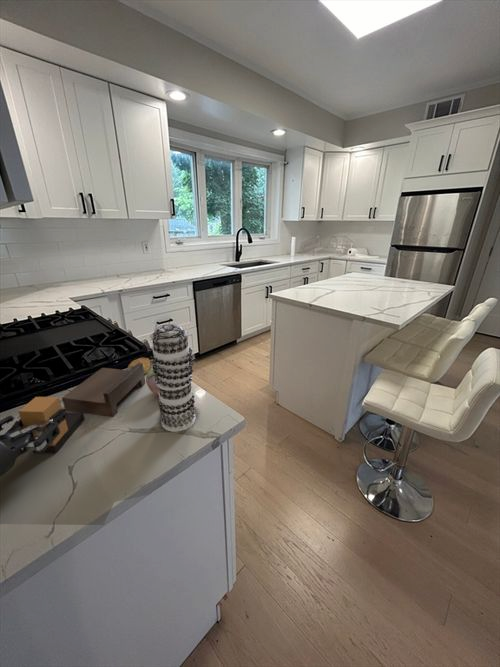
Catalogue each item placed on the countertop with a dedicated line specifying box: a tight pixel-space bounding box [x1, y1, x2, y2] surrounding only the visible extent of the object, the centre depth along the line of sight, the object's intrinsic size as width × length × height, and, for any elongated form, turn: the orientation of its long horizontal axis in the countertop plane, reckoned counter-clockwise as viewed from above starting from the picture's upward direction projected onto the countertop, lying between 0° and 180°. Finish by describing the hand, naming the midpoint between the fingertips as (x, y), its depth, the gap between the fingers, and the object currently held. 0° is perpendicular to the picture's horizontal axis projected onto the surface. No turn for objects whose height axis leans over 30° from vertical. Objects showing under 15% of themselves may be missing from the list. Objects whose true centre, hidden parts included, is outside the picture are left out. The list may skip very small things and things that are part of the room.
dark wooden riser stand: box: [61, 363, 146, 418], centre depth 78 cm, size 14×16×7 cm
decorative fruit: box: [145, 367, 159, 396], centre depth 79 cm, size 9×8×10 cm
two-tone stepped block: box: [18, 396, 85, 454], centre depth 63 cm, size 11×5×11 cm, turn 0°
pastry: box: [127, 357, 151, 375], centre depth 93 cm, size 9×7×4 cm
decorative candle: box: [149, 324, 197, 433], centre depth 65 cm, size 9×9×25 cm
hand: (52, 410), depth 61 cm, fingers closed on two-tone stepped block, 5 cm apart
